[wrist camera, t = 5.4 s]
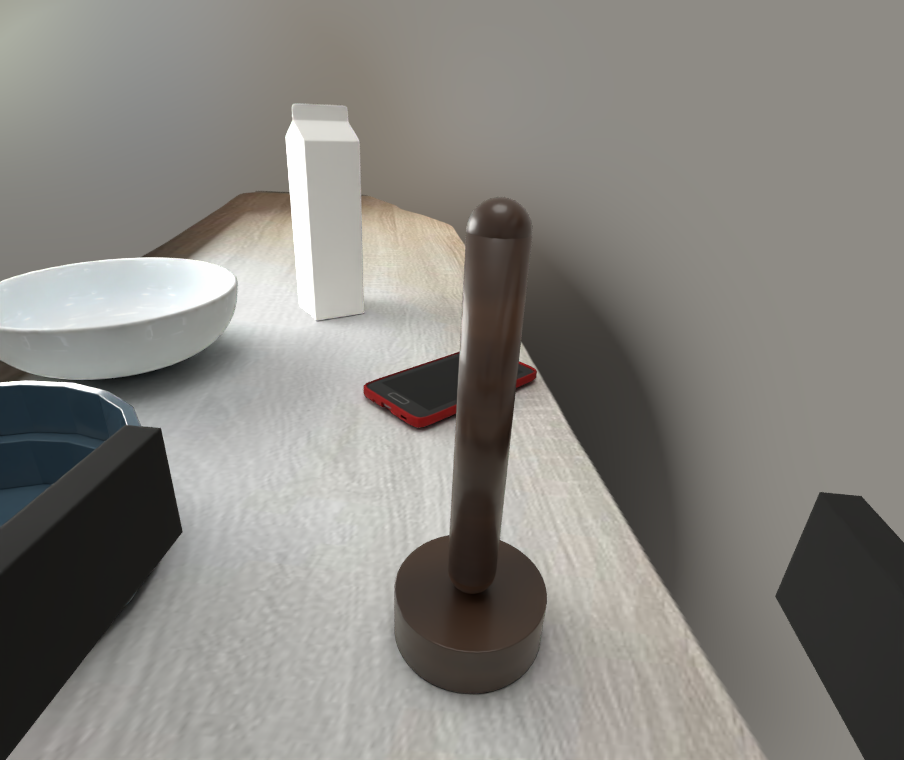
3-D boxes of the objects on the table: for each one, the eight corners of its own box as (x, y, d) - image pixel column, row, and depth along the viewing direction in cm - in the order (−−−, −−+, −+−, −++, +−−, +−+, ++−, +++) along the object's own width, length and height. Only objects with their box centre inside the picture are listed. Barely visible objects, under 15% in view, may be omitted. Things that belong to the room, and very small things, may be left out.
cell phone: (359, 395, 47) (358, 384, 47) (480, 353, 56) (480, 344, 56) (417, 432, 42) (417, 421, 42) (540, 379, 51) (541, 370, 51)
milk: (298, 306, 67) (280, 102, 57) (345, 299, 70) (336, 105, 60) (316, 321, 63) (300, 103, 53) (365, 313, 66) (359, 106, 56)
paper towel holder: (567, 670, 25) (659, 215, 16) (414, 713, 23) (426, 218, 14) (506, 560, 31) (550, 183, 22) (381, 585, 29) (375, 182, 20)
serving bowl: (78, 315, 61) (61, 253, 58) (270, 322, 62) (264, 260, 59) (-82, 407, 42) (-119, 322, 39) (196, 415, 43) (181, 332, 40)
